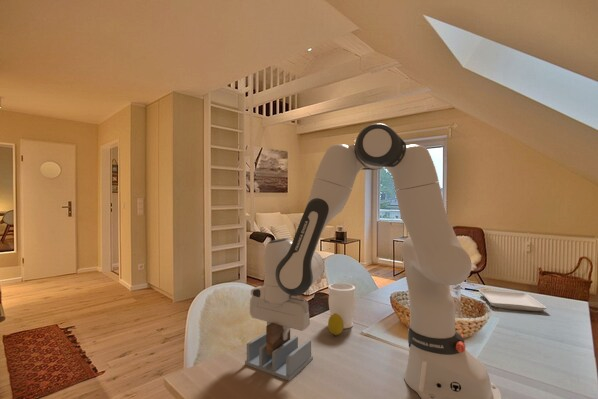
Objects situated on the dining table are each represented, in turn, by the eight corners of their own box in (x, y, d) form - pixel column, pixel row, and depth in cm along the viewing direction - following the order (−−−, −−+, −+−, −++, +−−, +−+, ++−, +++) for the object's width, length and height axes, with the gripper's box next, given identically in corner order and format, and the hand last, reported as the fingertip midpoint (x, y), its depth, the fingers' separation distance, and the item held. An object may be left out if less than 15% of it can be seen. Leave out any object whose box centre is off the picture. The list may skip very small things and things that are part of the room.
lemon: (343, 339, 105) (342, 316, 105) (327, 338, 106) (327, 315, 106) (343, 332, 111) (343, 311, 111) (328, 331, 112) (328, 310, 112)
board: (290, 343, 94) (290, 317, 94) (272, 355, 87) (272, 327, 87) (283, 341, 95) (283, 315, 95) (266, 353, 88) (266, 325, 88)
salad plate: (526, 299, 147) (526, 292, 147) (548, 315, 127) (548, 307, 127) (477, 295, 153) (477, 288, 153) (490, 310, 133) (490, 302, 133)
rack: (312, 359, 92) (312, 339, 92) (289, 381, 81) (289, 358, 81) (271, 346, 101) (271, 328, 101) (244, 364, 90) (244, 344, 90)
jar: (323, 324, 119) (322, 286, 119) (340, 317, 125) (340, 281, 125) (344, 332, 111) (343, 292, 111) (361, 325, 117) (360, 286, 118)
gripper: (313, 294, 88) (313, 342, 88) (259, 284, 99) (259, 326, 99) (302, 301, 83) (302, 351, 83) (246, 289, 94) (246, 333, 94)
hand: (278, 337), depth 91 cm, fingers closed on board, 2 cm apart
